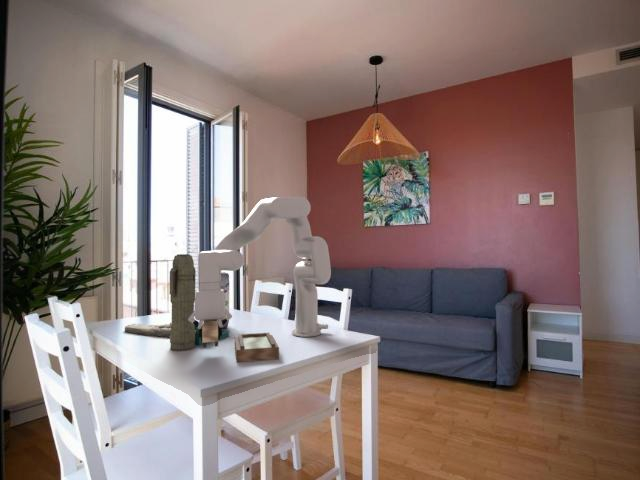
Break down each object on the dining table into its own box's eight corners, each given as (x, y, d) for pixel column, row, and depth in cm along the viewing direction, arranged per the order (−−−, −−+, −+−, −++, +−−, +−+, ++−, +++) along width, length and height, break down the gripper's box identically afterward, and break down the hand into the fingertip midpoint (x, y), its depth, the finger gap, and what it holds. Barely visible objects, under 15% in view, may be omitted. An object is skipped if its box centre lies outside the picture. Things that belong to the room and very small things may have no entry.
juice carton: (203, 327, 174) (204, 269, 175) (226, 325, 179) (226, 269, 179) (206, 331, 166) (206, 270, 167) (230, 329, 171) (230, 270, 171)
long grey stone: (136, 331, 172) (118, 337, 163) (135, 320, 172) (117, 325, 163) (199, 333, 161) (184, 340, 152) (198, 321, 161) (183, 327, 152)
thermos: (161, 351, 135) (162, 254, 136) (182, 342, 147) (182, 254, 147) (182, 353, 133) (183, 254, 133) (201, 344, 144) (202, 254, 145)
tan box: (218, 339, 135) (217, 312, 135) (218, 347, 125) (217, 317, 125) (203, 340, 133) (203, 312, 133) (202, 348, 124) (202, 318, 124)
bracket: (199, 346, 142) (199, 325, 143) (187, 344, 146) (187, 323, 146) (232, 336, 158) (232, 317, 158) (220, 334, 161) (220, 316, 161)
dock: (271, 345, 143) (272, 331, 143) (278, 359, 126) (278, 343, 126) (234, 347, 140) (234, 333, 140) (236, 362, 122) (236, 346, 122)
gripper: (234, 284, 135) (235, 334, 135) (185, 286, 131) (185, 338, 131) (235, 286, 128) (236, 339, 128) (182, 289, 123) (183, 343, 123)
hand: (210, 338), depth 129 cm, fingers closed on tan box, 5 cm apart
